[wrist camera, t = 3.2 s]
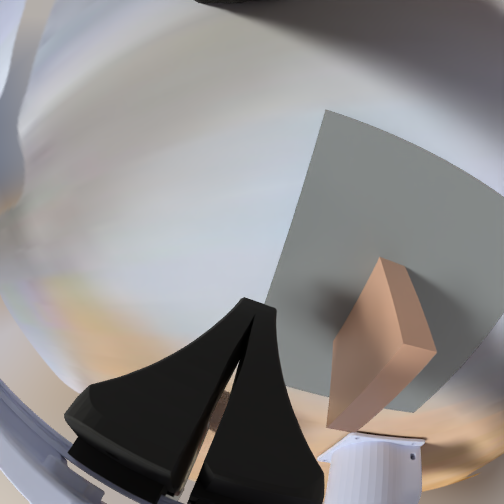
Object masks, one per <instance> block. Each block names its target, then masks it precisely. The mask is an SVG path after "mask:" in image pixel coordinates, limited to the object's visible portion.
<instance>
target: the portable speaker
mask: <svg viewBox="0 0 504 504" xmlns="http://www.w3.org/2000/svg"><path fill="white" fill-rule="evenodd" d="M195 1H196V2H198V3H222V2H237V3H241V2H246V1H250V0H195Z"/></svg>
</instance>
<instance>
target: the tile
mask: <svg viewBox="0 0 504 504" xmlns="http://www.w3.org/2000/svg"><path fill="white" fill-rule="evenodd" d="M436 353H437V351H436V347H435V344H434V341H433V338H432V335H431V332H430V329H429V326H428V323H427V320H426V318H425V315H424V312H423V309H422V307H421V304H420V301H419V299H418V296H417V294H416V291H415V289H414V286H413V284H412V282H411V279H410V277H409V275H408V272H407V270H406V268H405V266H403V265H400V264H398V263H395V262H392V261H390V260H387V259H384V258H382V257H379V259H378V261H377V263H376V265H375V267H374V269H373V271H372V273H371V275H370V277H369V279H368V281H367V283H366V285H365V287H364V289H363V290H362V292H361V294H360V296H359V298H358V300H357V302H356V303H355V305H354V307H353V309H352V310H351V312H350V314H349V316H348V317H347V319H346V321H345V323H344V324H343V326H342V328H341V329H340V331H339V333H338V334H337V336H336V338H335V339H334V341H333V354H332V371H331V384H330V396H329V407H328V417H327V425H326V428H331V429H336V430H341V431H347V432H353V433H355V432H356V431H358V430H359V429H360V428H361V427H363V426H364V425H365V424H366V423H367V422H369V421H370V420H371V419H372V418H373V417H374V416H376V415H377V414H378V413H379V412H380V411H381V410H382V409H383V408H384V407H386V406H387V405H388V404H389V403H390V402H391V401H392V400H393V399H394V398H395V397H396V396H397V395H398V394H399V393H400V392H401V391H402V390H403V389H404V388H405V387H406V386H407V385H408V384H409V383H410V382H411V381H412V380H413V379H414V378H415V377H416V376H417V375H418V374H419V373H420V371H421V370H422V369H423V368H424V367H425V366H426V365H427V364H428V362H429V361H430V360H431V359H432V358H433V357H434V356H435V354H436Z"/></svg>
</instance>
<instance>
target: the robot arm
mask: <svg viewBox="0 0 504 504" xmlns="http://www.w3.org/2000/svg"><path fill="white" fill-rule="evenodd" d="M276 317H277V310H276V308H274V307H271V306H268V305H265V304H262V303H259V302H256V301H253V300H251V299H248V298H245V297H244V298H242V299H240V301H239V302H238V303H237V304H236V305H235V307H234V308H233V309H232V310H231V311H230V312H229V313H228V314H227V315H226V316H225V317H223V318H222V319H221V320H220V321H219V322H218V323H216V324H215V325H214V326H213V327H212V328H211V329H209V330H208V331H207V332H205V333H204V334H203V335H201V336H200V337H199V338H197V339H196V340H194V341H193V342H191V343H190V344H188V345H187V346H185V347H184V348H182V349H180V350H179V351H177V352H175V353H174V354H172V355H170V356H168V357H166V358H164V359H162V360H160V361H158V362H156V363H154V364H152V365H150V366H147V367H145V368H142V369H140V370H137V371H134V372H132V373H129V374H127V375H124V376H121V377H117V378H114V379H110V380H107V381H103V382H99V383H95V384H91V385H89V386H88V387H87V388H86V389H85V390H84V391H83V392H82V393H81V394H80V395H79V396H78V397H77V398H76V399H75V401H74V402H73V403H72V405H71V406H70V407H69V409H68V410H67V411H66V413H65V414H64V418H65V421H66V422H67V423H68V425H69V426H70V427H71V429H72V430H73V431H74V432H75V433H76V435H77V436H78V438H77V439H76V441H75V442H74V444H72V443H71V442H69V441H68V440H67V439H65V438H64V437H63V436H61V435H60V434H59V433H57V432H56V431H55V430H54V429H52V428H51V427H50V426H49V425H48V424H47V423H45V422H44V421H43V420H42V419H41V418H40V417H38V416H37V415H36V414H35V413H34V412H33V411H32V410H31V409H29V408H28V407H27V406H26V405H25V404H24V403H23V402H22V401H21V400H20V399H19V398H18V397H17V396H16V395H15V394H14V393H13V392H12V391H11V390H10V389H9V388H8V387H7V386H6V385H5V383H4V382H3V381H2V380H1V379H0V470H1V471H2V472H3V473H4V475H5V476H6V477H7V478H8V479H9V481H10V482H11V483H12V484H13V485H14V486H15V487H16V488H17V490H18V491H19V492H20V493H21V494H22V495H23V496H24V497H25V498H26V499H27V500H28V501H29V502H30V504H106V503H105V502H103V501H101V499H102V497H103V495H104V491H103V490H101V489H100V488H98V487H97V486H95V485H93V484H92V483H90V482H89V481H87V480H86V479H84V478H83V477H81V476H80V475H78V474H77V473H75V472H74V471H72V470H71V469H70V468H69V467H68V466H67V460H69V461H70V462H71V463H73V464H74V465H76V466H77V467H78V468H80V469H81V470H83V471H84V472H86V473H87V474H89V475H90V476H92V477H94V478H95V479H97V480H98V481H100V482H102V483H103V484H105V485H107V486H108V487H110V488H112V489H113V490H115V491H117V492H119V493H121V494H122V495H124V496H126V497H128V498H130V499H132V500H134V501H136V502H138V503H140V504H183V503H180V502H178V501H176V500H173V499H171V498H168V497H166V494H167V495H169V496H172V497H174V496H175V493H176V492H178V491H180V489H181V486H182V484H183V482H184V479H185V477H186V475H187V472H188V470H189V467H190V465H191V463H192V460H193V458H194V456H195V453H196V451H197V449H198V446H199V444H200V441H201V439H202V437H203V434H204V432H205V430H206V427H207V425H208V422H209V420H210V418H211V415H212V413H213V411H214V408H215V406H216V404H217V402H218V400H219V399H220V397H221V395H222V393H223V391H224V389H225V387H226V385H227V383H228V382H229V380H230V378H231V376H232V374H233V372H234V370H235V368H236V366H237V364H238V362H239V364H238V368H237V372H236V375H235V379H234V383H233V386H232V390H231V394H230V397H229V401H228V404H227V407H226V409H225V412H224V414H223V417H222V419H221V422H220V424H219V427H218V429H217V431H216V434H215V436H214V439H213V441H212V444H211V446H210V448H209V451H208V453H207V455H206V458H205V460H204V463H203V465H202V468H201V471H200V473H199V476H198V478H197V481H196V483H195V485H194V488H193V490H192V492H191V495H190V498H189V500H188V502H187V504H322V502H323V498H324V473H323V471H322V469H321V467H320V466H319V464H318V462H317V461H316V459H315V457H314V455H313V454H312V452H311V450H310V448H309V446H308V444H307V442H306V440H305V438H304V436H303V433H302V431H301V429H300V426H299V424H298V421H297V419H296V416H295V414H294V411H293V409H292V406H291V403H290V399H289V396H288V393H287V389H286V386H285V382H284V378H283V374H282V369H281V364H280V358H279V351H278V343H277V330H276ZM239 360H240V361H239ZM423 444H425V440H424V439H411V438H398V437H387V436H379V435H371V434H363V433H357V432H355V433H353V432H352V433H349V434H348V435H347V436H345V437H344V438H343V439H342V440H340V441H339V442H338V443H336V444H335V445H334V446H332V447H331V448H330V449H328V450H327V451H326V452H324V453H323V454H321V455H320V456H318V458H317V460H318V461H322V462H328V463H330V470H329V477H328V483H327V489H326V495H325V501H324V504H418V502H419V500H420V497H421V492H422V466H421V448H420V446H422V445H423ZM64 457H65V458H66V459H67V460H66V459H65V458H64Z"/></svg>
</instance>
